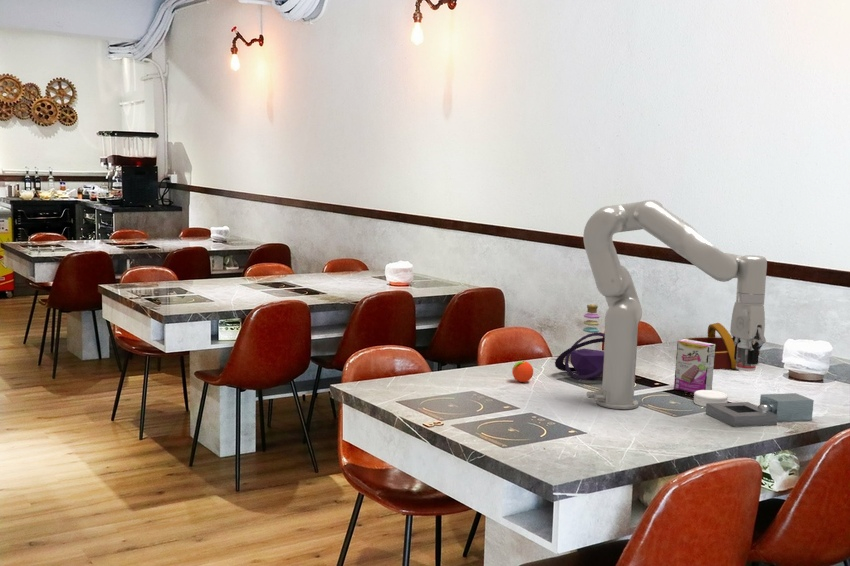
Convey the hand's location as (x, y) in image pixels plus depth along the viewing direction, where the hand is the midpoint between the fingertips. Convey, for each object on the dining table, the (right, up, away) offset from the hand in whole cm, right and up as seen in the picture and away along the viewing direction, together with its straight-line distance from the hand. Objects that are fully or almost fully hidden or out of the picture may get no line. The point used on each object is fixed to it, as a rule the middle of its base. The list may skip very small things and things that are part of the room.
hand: (745, 361), depth 254 cm
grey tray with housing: (+6, -17, +4) cm, 18 cm away
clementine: (-60, -11, +39) cm, 72 cm away
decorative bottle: (-36, -10, +49) cm, 62 cm away
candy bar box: (-5, -13, +34) cm, 37 cm away
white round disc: (-4, -15, +19) cm, 25 cm away
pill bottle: (0, -3, 0) cm, 3 cm away
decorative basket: (+21, -8, +85) cm, 88 cm away
